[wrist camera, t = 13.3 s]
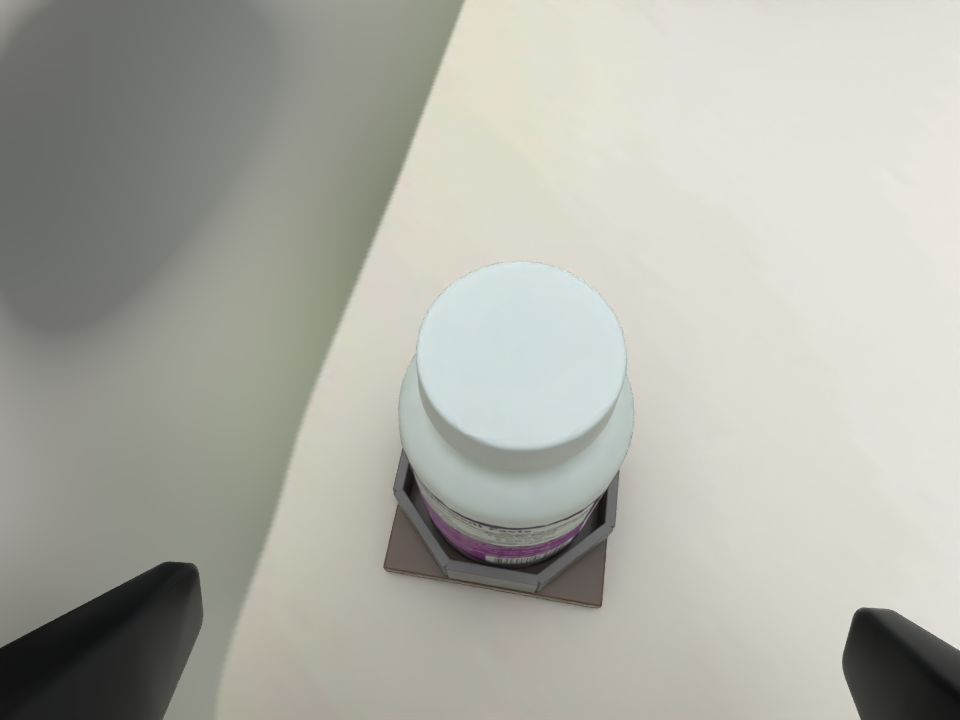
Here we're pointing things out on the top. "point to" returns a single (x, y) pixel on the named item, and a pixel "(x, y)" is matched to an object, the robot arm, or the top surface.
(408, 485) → the octagonal bottle holder
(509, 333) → the pill bottle
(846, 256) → the top surface
